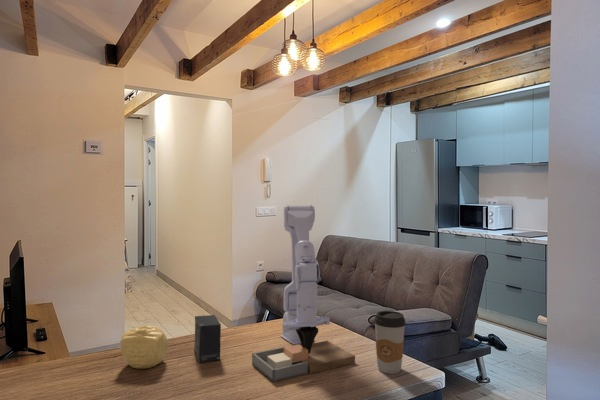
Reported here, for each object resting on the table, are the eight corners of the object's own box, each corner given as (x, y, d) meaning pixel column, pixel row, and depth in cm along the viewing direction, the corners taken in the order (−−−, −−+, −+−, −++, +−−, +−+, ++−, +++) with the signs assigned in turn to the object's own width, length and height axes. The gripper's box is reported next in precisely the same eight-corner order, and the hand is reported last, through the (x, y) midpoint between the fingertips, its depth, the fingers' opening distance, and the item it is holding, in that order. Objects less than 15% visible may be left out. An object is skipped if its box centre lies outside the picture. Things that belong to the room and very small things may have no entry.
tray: (252, 363, 115) (252, 353, 115) (284, 356, 121) (284, 346, 121) (273, 382, 104) (273, 370, 104) (308, 373, 109) (308, 362, 109)
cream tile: (267, 365, 113) (267, 356, 113) (283, 361, 116) (283, 352, 116) (275, 371, 109) (275, 362, 109) (292, 367, 112) (292, 358, 112)
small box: (221, 360, 118) (222, 323, 118) (198, 363, 115) (198, 326, 115) (215, 347, 128) (215, 313, 128) (193, 350, 125) (193, 315, 125)
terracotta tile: (283, 356, 116) (283, 347, 116) (298, 352, 118) (298, 344, 118) (292, 362, 111) (292, 353, 111) (308, 359, 114) (308, 350, 114)
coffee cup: (369, 371, 111) (370, 316, 111) (378, 360, 118) (379, 308, 118) (400, 378, 107) (401, 320, 107) (408, 366, 114) (408, 312, 114)
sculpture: (114, 373, 109) (114, 332, 109) (134, 355, 121) (134, 318, 121) (157, 373, 108) (157, 333, 108) (173, 356, 120) (173, 319, 120)
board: (284, 356, 121) (284, 349, 121) (327, 346, 129) (327, 340, 129) (310, 374, 109) (310, 366, 109) (355, 362, 117) (355, 355, 117)
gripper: (291, 311, 109) (291, 362, 109) (336, 304, 117) (335, 352, 117) (279, 305, 115) (278, 354, 116) (322, 299, 123) (321, 344, 123)
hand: (306, 352), depth 117 cm, fingers closed
